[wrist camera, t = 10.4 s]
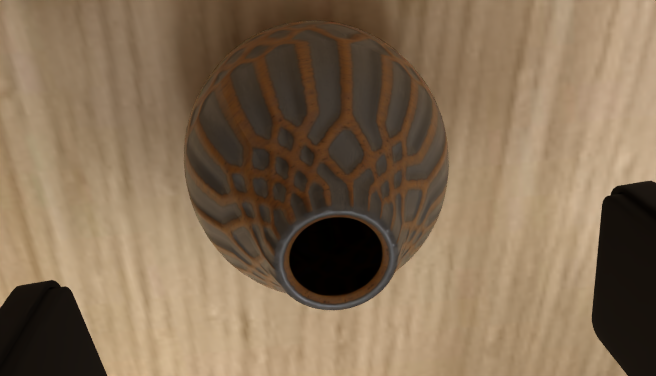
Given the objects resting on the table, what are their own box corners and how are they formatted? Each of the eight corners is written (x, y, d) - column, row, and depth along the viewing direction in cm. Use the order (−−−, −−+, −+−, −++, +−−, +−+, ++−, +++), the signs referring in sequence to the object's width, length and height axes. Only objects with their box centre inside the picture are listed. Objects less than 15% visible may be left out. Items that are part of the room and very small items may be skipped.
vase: (310, 239, 20) (336, 442, 12) (156, 118, 18) (68, 278, 10) (452, 107, 19) (585, 246, 11) (303, -48, 16) (337, -14, 8)
